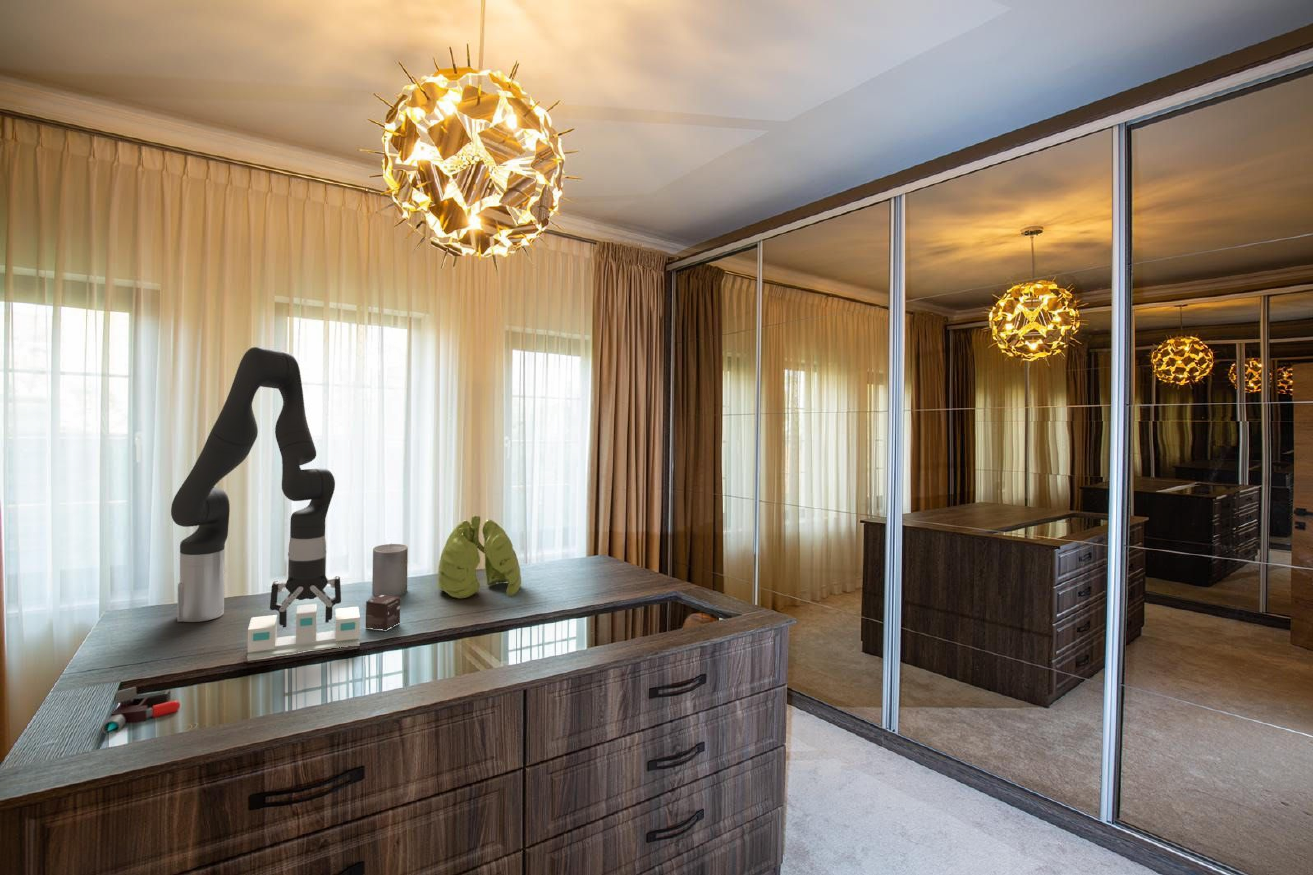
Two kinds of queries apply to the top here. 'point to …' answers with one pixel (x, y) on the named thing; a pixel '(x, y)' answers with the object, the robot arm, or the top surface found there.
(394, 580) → the pillar candle
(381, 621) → the box
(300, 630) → the block
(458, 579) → the lungs
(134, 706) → the toy gun
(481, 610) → the top surface
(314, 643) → the board
